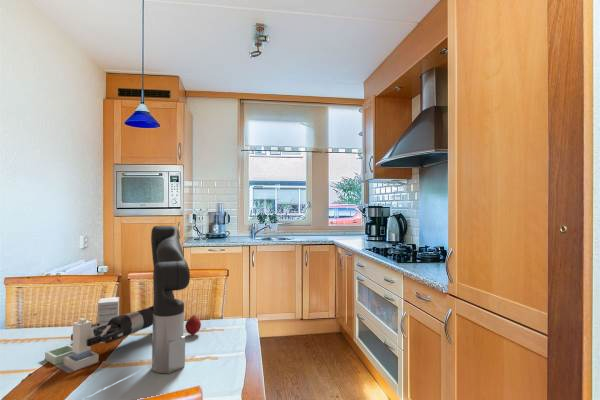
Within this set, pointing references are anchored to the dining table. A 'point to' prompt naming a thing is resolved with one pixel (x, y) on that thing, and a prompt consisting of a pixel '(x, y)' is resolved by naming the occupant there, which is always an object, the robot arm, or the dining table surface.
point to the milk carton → (81, 339)
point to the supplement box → (107, 309)
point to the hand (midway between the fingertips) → (79, 340)
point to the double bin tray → (69, 359)
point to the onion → (193, 325)
